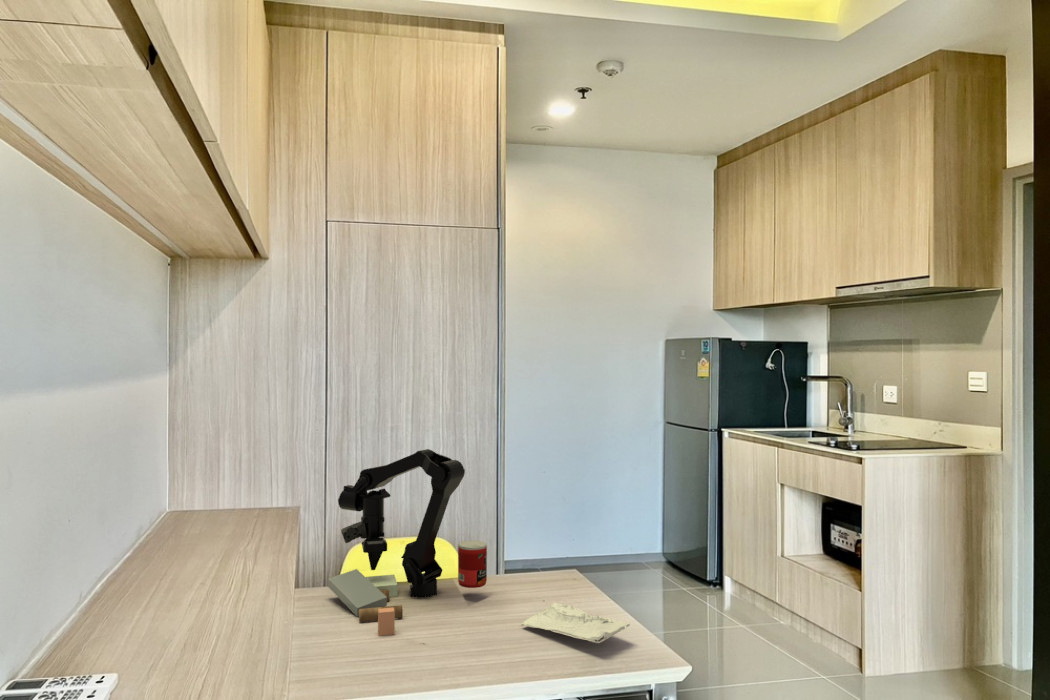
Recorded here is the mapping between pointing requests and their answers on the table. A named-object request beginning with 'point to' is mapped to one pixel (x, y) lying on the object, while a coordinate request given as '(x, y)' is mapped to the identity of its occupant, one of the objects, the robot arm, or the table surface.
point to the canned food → (472, 564)
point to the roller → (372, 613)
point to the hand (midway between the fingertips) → (373, 569)
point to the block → (385, 583)
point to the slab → (356, 591)
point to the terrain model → (575, 623)
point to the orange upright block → (386, 621)
